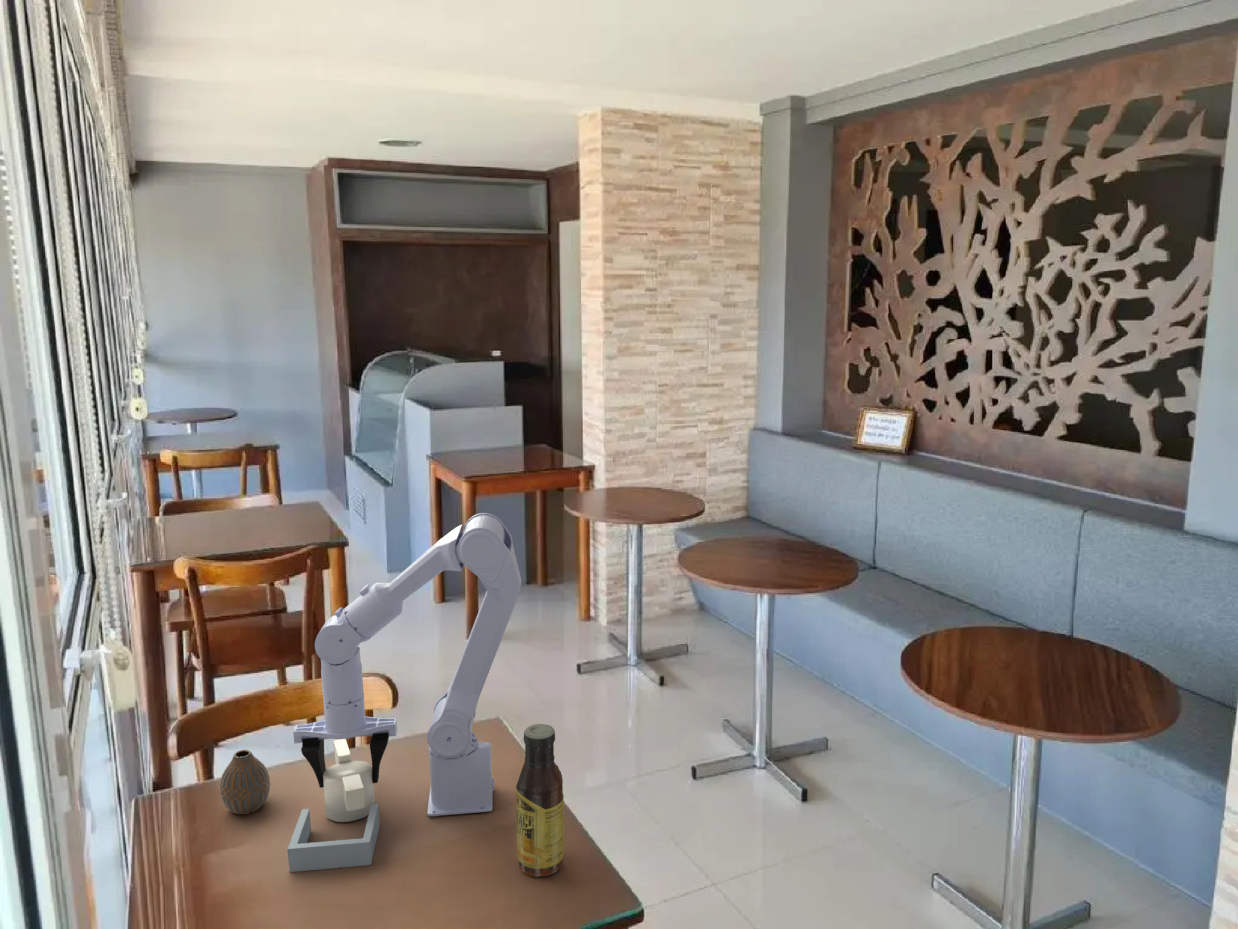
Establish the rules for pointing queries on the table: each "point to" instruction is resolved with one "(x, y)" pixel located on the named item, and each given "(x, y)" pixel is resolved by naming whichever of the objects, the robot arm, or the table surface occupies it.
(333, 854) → the holder
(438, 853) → the table surface
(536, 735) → the sauce bottle
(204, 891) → the table surface
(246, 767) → the vase
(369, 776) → the cream egg with arms
